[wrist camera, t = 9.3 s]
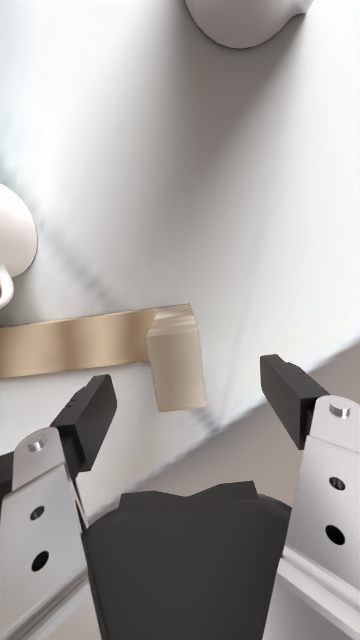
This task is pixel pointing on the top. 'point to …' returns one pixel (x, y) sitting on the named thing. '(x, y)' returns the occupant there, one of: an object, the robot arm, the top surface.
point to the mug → (14, 241)
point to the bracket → (115, 349)
